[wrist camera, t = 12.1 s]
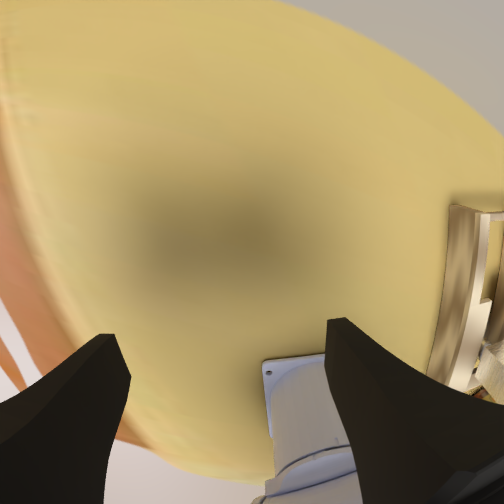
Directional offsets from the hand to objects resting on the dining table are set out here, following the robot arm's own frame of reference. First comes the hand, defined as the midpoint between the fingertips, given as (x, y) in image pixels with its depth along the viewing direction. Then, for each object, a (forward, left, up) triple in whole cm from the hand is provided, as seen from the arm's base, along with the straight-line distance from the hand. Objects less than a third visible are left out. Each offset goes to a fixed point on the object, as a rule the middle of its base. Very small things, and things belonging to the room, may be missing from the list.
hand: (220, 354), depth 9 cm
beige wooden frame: (-5, -20, -11) cm, 23 cm away
